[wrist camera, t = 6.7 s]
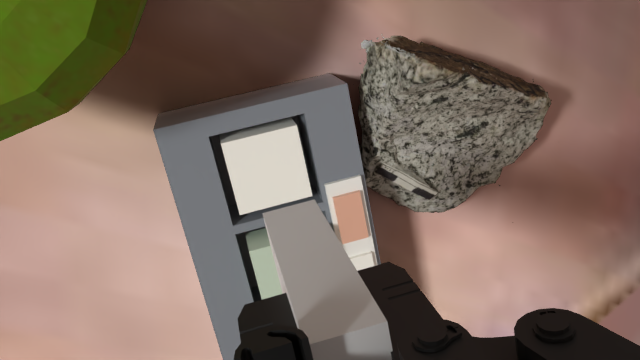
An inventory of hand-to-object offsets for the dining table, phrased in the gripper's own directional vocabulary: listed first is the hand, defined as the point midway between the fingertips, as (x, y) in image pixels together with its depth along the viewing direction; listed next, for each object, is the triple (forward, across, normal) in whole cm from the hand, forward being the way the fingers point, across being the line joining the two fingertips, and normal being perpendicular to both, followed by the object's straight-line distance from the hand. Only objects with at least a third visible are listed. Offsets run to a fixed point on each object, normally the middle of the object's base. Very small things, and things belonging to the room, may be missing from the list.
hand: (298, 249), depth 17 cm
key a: (+11, 0, 0) cm, 11 cm away
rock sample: (+12, +9, -1) cm, 15 cm away
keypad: (+12, 0, -5) cm, 13 cm away
